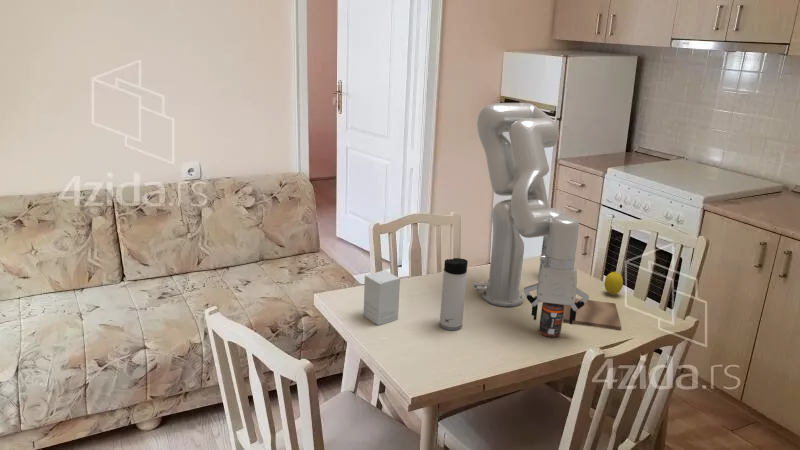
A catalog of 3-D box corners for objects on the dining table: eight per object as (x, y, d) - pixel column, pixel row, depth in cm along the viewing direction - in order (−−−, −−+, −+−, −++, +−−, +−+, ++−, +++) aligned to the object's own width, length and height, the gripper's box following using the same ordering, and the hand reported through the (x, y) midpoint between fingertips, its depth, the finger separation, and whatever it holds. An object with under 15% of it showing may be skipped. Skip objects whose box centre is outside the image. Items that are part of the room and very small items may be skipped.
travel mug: (447, 333, 174) (453, 265, 168) (435, 322, 180) (440, 256, 174) (466, 329, 177) (473, 262, 171) (454, 318, 183) (459, 253, 176)
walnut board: (563, 322, 184) (563, 319, 184) (561, 299, 199) (561, 296, 199) (620, 330, 181) (621, 326, 181) (614, 306, 196) (615, 303, 196)
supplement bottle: (556, 340, 174) (561, 302, 170) (535, 333, 177) (540, 296, 173) (563, 332, 178) (568, 295, 175) (542, 325, 181) (547, 289, 178)
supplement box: (398, 319, 181) (401, 278, 177) (377, 326, 176) (379, 283, 172) (383, 309, 186) (385, 269, 182) (362, 315, 182) (363, 274, 178)
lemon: (621, 299, 202) (625, 275, 199) (603, 297, 203) (607, 273, 200) (619, 292, 207) (623, 269, 204) (602, 290, 208) (605, 267, 205)
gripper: (526, 263, 169) (520, 322, 174) (594, 270, 165) (586, 330, 171) (527, 253, 176) (521, 310, 181) (592, 260, 172) (584, 318, 178)
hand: (552, 320), depth 176 cm, fingers open, 9 cm apart
